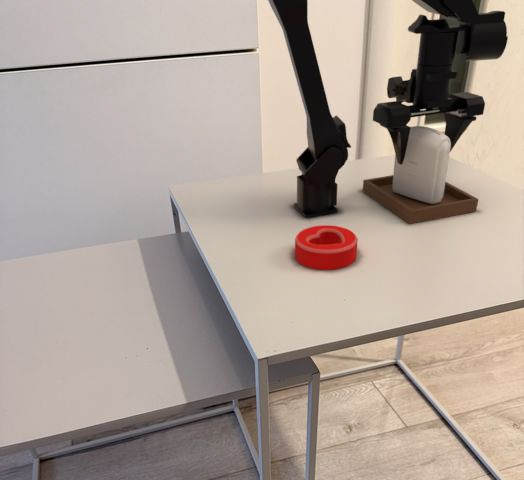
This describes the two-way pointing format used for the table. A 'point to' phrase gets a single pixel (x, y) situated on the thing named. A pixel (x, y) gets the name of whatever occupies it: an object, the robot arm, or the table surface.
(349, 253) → the decorative ornament
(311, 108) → the robot arm
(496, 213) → the table surface
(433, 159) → the photo printer
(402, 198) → the tray
